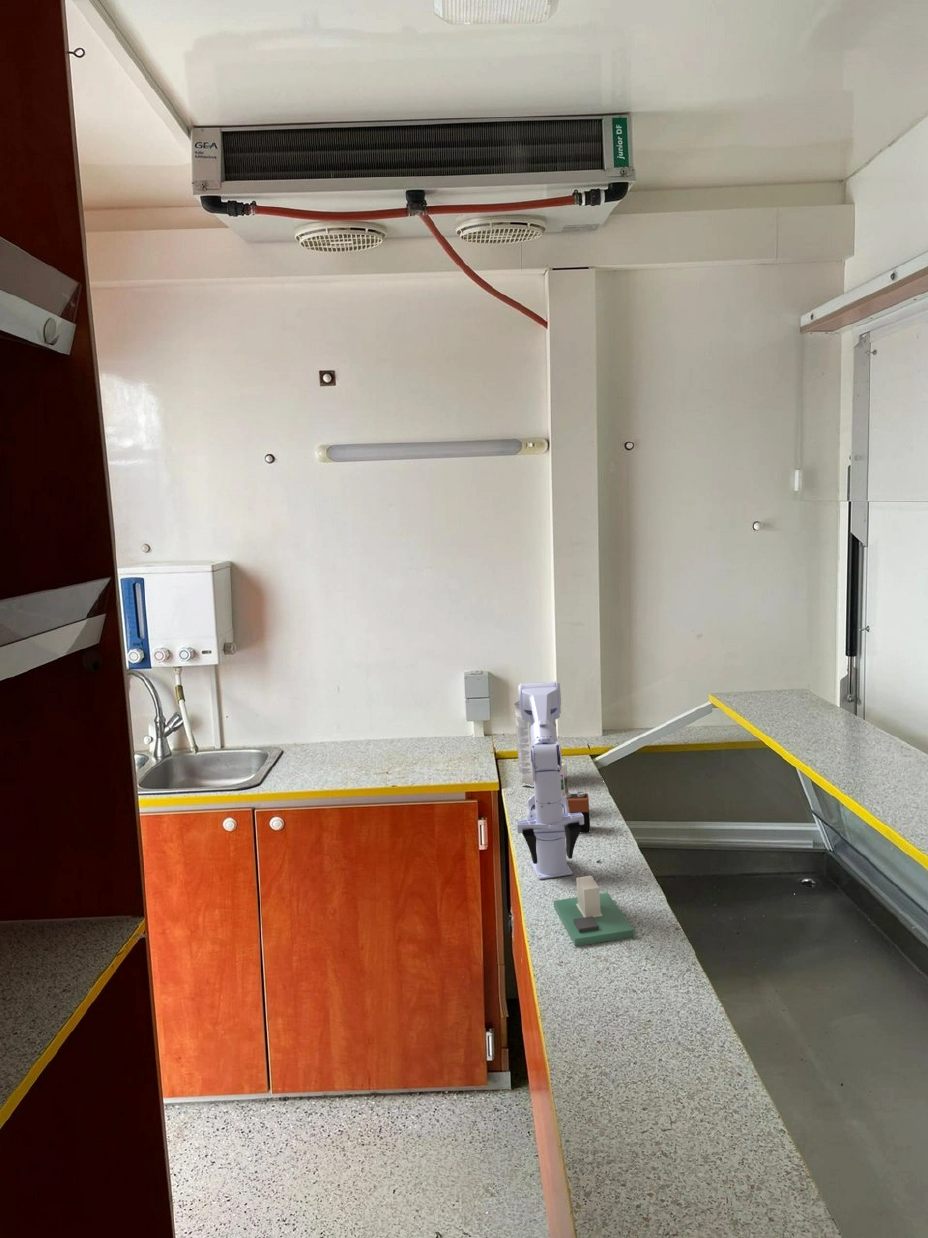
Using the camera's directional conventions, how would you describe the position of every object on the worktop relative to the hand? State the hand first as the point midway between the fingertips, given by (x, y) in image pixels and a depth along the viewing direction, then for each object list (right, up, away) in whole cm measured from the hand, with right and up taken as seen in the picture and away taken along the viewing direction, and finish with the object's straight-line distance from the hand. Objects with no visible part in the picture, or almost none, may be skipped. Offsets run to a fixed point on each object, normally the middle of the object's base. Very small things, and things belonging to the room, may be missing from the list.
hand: (552, 859), depth 188 cm
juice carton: (+3, +2, +71) cm, 71 cm away
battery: (+10, -3, +37) cm, 38 cm away
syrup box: (+6, -1, +48) cm, 49 cm away
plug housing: (+7, -9, -7) cm, 13 cm away
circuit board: (+7, -10, -8) cm, 15 cm away
